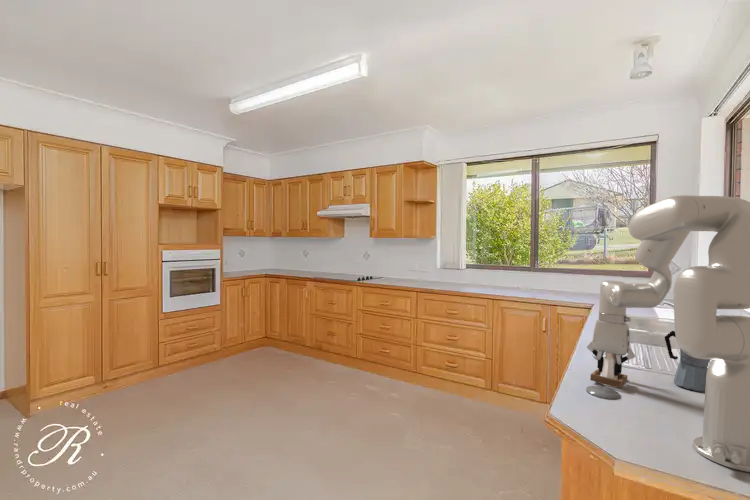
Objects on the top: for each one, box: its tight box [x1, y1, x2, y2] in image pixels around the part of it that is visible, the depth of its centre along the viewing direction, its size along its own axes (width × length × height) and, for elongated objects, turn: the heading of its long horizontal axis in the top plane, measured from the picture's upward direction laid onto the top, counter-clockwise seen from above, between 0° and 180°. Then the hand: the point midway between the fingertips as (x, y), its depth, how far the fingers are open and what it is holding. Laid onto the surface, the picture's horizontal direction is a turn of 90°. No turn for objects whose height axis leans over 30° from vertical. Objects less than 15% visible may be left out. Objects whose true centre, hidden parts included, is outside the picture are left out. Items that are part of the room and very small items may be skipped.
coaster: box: [585, 385, 621, 400], centre depth 119 cm, size 9×9×1 cm
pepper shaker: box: [600, 352, 618, 388], centre depth 127 cm, size 5×5×11 cm
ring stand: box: [590, 354, 628, 389], centre depth 129 cm, size 14×9×16 cm, turn 134°
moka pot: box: [664, 330, 711, 393], centre depth 126 cm, size 10×15×20 cm, turn 78°
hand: (609, 372), depth 127 cm, fingers closed on pepper shaker, 4 cm apart
